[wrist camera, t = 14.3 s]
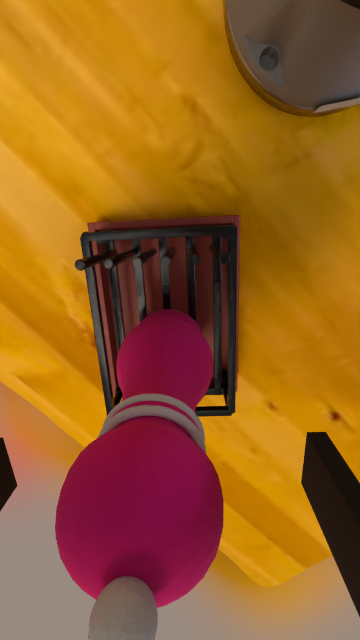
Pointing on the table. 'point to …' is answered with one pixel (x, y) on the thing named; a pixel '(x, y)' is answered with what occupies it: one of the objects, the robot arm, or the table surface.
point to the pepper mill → (145, 485)
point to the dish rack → (165, 289)
